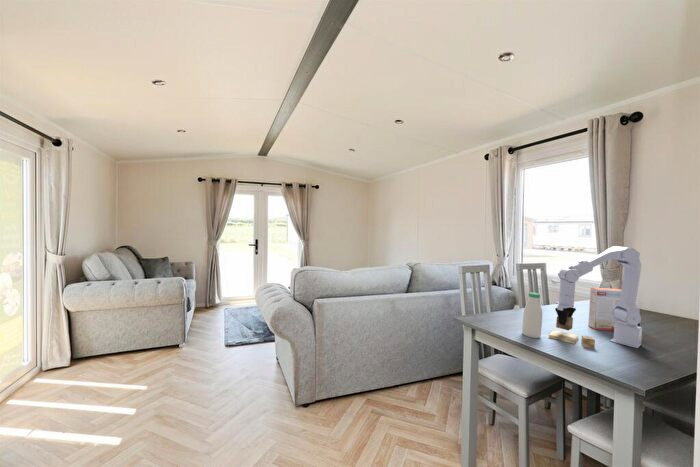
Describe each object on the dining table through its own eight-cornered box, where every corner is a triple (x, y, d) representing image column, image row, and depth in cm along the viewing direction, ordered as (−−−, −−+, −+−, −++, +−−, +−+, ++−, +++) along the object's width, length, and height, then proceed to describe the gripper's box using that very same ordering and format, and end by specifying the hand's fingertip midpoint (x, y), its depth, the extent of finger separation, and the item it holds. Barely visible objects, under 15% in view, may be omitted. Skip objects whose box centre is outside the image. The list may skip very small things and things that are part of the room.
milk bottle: (543, 339, 147) (546, 295, 146) (525, 337, 149) (528, 294, 148) (537, 333, 155) (540, 292, 154) (519, 331, 156) (522, 290, 155)
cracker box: (615, 328, 170) (618, 288, 169) (624, 331, 164) (627, 291, 163) (587, 325, 171) (590, 286, 170) (594, 329, 165) (597, 289, 164)
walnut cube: (572, 328, 149) (573, 317, 149) (568, 330, 146) (569, 319, 146) (559, 325, 153) (560, 315, 153) (556, 327, 150) (556, 316, 150)
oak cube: (592, 346, 142) (593, 337, 142) (594, 349, 138) (595, 339, 138) (581, 344, 144) (581, 335, 143) (583, 347, 140) (583, 338, 140)
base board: (577, 338, 150) (578, 335, 150) (574, 344, 143) (575, 340, 143) (552, 332, 157) (553, 329, 157) (548, 337, 150) (549, 334, 150)
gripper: (562, 291, 157) (560, 318, 157) (551, 294, 148) (548, 323, 148) (579, 294, 151) (577, 322, 152) (568, 297, 142) (566, 328, 143)
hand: (564, 323), depth 150 cm, fingers closed on walnut cube, 5 cm apart
